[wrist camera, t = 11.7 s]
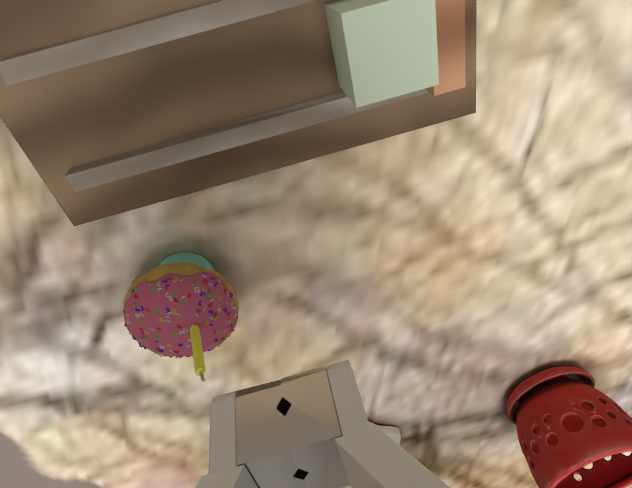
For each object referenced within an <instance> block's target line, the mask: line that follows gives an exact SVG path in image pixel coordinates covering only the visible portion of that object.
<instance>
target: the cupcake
mask: <svg viewBox="0 0 632 488" xmlns="http://www.w3.org/2000/svg"><path fill="white" fill-rule="evenodd" d="M238 310H239V306H238V299H237V295H236V291H235V288H234V287H233V285H232V284H230V283H229V282H228V281H226V280H225V279H224V278H223V276H222V275H221V274H220V273H219V272H217V271H215V270H214V268H213V266H212V264H211V263H210V262H209V261H208V260H207V259H206V258H204V257H202V256H200V255H198V254H195V253H189V252H181V253H176V254H173V255H170V256H168V257H167V258H165V259H164V260H163V261H162V262H161V263H160V264H159V265H158V267H156V268H154V269H152V270H150V271H148V272H147V273H145V274H144V275H141V276H139V277H137V278H136V279H135V280H134V281H133V283H132V285H131V287H130V289H129V290H128V292H127V294H126V296H125V299H124V310H123V312H124V317H125V324H126V325H125V326H126V327H127V329H128V330H129V334H130V335H132V337H133V339H134V340H137V341H138V343H139V346H140V347H144V349H146V348H148V349H150V350H151V351H153V352H154V353H155V354H158V355H160V356H166V355H167V356H169V357H172V356H176V358H177V357H180V358H181V357H183V356H186V357H190V356H193V359H194V367H195V373H196V375H198V376H201V380H202V381H205V379H204V375H203V374H205V372H206V370H205V363H204V356H203V352H205V351H210V350H211V349H212V350H213V349H214V347H216V346H220V344H221V343H222V342H223V341H224V340H225V339H226V338H227V337H229V336H230V333H231V332H233V331H234V330H233V329H234V328H235V326H236V323H237V319H238ZM140 344H141V345H140Z"/></svg>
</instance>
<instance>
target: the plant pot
mask: <svg viewBox="0 0 632 488" xmlns="http://www.w3.org/2000/svg"><path fill="white" fill-rule="evenodd" d="M594 386H595V381H594V379H593V377H592V376H591V375H590V374H589V373H588V372H587V371H585V370H583V369H580V368H577V367H571V366H561V367H558V366H556V367H553V368H550V369H546V370H543V371H541V372H538V373H536V374H534V375H532V376H530V377H529V378H527V379H526V380H524V381H523V382H522V383H520V384H519V385H518V386H517V387H516V388H515V389H514V391H513V392H512V393H511V395H510V397H509V399H508V401H507V406H506V412H507V416H508V418H509V420H510V421H511V422H512V423H514V424H516V425H517V433H518V439H519V443H520V446H521V449H522V452H523V454H524V456H525V458H526V460H527V463H528V465H529V468H530V471H531V473H532V475H533V477H534V479H535V481H536V483H537V485H538V487H539V488H625V487H627V486H629V485H631V484H632V453H631V454H630V455H629V456H625V455H623V454H622V453H623V452H628V451H632V418H631V417H630V416H629V415H628V414H627V413H626V412H625V411H624V410H623V409H622V408H621V407H620V406H618V405H617V404H616V403H615V402H614V401H613V400H612V399H610V398H609V397H608V396H606V395H605V394H604V393H602V392H600V391H599V390H597V389H595V388H594ZM610 455H611V456H612V458H611V460H609V461H607V460H605V459H604V457H607V456H610ZM590 463H593V467H592V468H591V469H585V468H583V467H584V466H586V465H588V464H590ZM576 473H577V474H580V475H581V477H582V480H581V481H577V480H576V479H575V478H574V474H576Z"/></svg>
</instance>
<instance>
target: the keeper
mask: <svg viewBox="0 0 632 488" xmlns="http://www.w3.org/2000/svg"><path fill="white" fill-rule="evenodd" d="M324 5H325V11H326V17H327V22H328V28H329V33H330V39H331V44H332V50H333V55H334V61H335V66H336V72H337V77H338V83H339V87H340V88H341V89H342V90H343V92H344V93H345V94H346V95H347V97H348V98H349V99H350V100H351V102H352V103H353V104H354V105H355V107H356V108H357V107H361V106H365V105H368V104H372V103H375V102H379V101H382V100H386V99H389V98H393V97H397V96H400V95H404V94H407V93H411V92H414V91H418V90H421V89H425V88H429V87H432V86H436V85H439V73H438V50H437V28H436V6H435V0H332V1H328V2H325V3H324Z"/></svg>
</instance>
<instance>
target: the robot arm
mask: <svg viewBox="0 0 632 488" xmlns="http://www.w3.org/2000/svg"><path fill="white" fill-rule="evenodd" d="M326 368H327V369H326ZM400 440H401V434H400V430H399V428H397V427H393V426H380V425H376V424H374V423H372V422H369V421H368V420H367V416H366V413H365V410H364V407H363V403H362V400H361V397H360V393H359V390H358V387H357V383H356V380H355V377H354V374H353V370H352V367H351V364H350V362H349V360H345V361H342V362H338V363H335V364H331V365H328V366H322V367H319V368H316V369H312V370H309V371H306V372H302V373H299V374H295V375H292V376H289V377H285V378H282V379H281V380H278V381H274V382H270V383H267V384H263V385H259V386H255V387H251V388H247V389H243V390H239V391H235V392H231V393H228V394H224V395H220V396H217V397H213V400H212V403H211V411H210V445H209V475H205V476H202V477H201V479H200V480H199V482H198V484H197V486H196V487H195V488H450V487H449V486H447V485H446V484H445V483H444V482H443V481H441V480H440V479H439V478H438V477H437V476H435V475H434V474H433V473H432V472H431V471H429V470H428V469H427V468H426V467H425V466H424V465H422V464H421V463H420V462H419V461H418V460H416V459H415V458H414V457H413V456H412V455H410V454H409V453H408V452H407V451H406V450H404V449H403V448H402V447H401V446H400Z"/></svg>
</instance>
